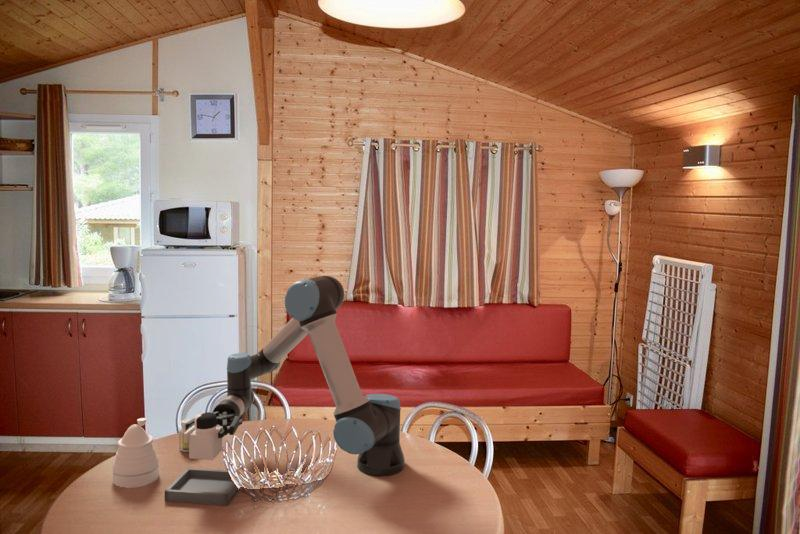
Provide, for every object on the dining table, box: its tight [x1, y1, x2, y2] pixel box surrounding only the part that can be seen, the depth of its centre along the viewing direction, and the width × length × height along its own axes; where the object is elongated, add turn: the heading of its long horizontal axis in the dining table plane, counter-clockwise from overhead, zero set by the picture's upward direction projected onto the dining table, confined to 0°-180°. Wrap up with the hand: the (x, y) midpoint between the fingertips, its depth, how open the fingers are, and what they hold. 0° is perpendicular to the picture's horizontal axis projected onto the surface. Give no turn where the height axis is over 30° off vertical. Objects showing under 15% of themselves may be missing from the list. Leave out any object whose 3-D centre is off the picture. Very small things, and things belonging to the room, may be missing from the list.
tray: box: [164, 467, 239, 506], centre depth 182 cm, size 18×15×3 cm
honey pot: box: [111, 417, 160, 489], centre depth 188 cm, size 13×13×18 cm
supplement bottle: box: [178, 418, 193, 453], centre depth 211 cm, size 5×5×10 cm
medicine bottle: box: [188, 411, 223, 461], centre depth 180 cm, size 7×7×12 cm
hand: (198, 439), depth 175 cm, fingers closed on medicine bottle, 7 cm apart
